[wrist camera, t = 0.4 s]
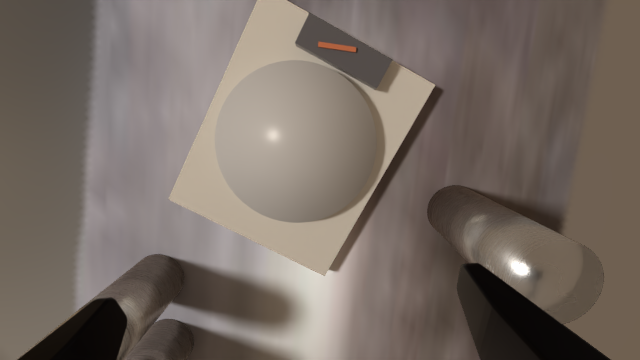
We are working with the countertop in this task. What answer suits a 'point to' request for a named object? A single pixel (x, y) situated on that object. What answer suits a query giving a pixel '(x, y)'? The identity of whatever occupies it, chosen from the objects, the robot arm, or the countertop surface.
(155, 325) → the spacer
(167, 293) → the spacer
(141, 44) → the countertop surface
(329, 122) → the scale
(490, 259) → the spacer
